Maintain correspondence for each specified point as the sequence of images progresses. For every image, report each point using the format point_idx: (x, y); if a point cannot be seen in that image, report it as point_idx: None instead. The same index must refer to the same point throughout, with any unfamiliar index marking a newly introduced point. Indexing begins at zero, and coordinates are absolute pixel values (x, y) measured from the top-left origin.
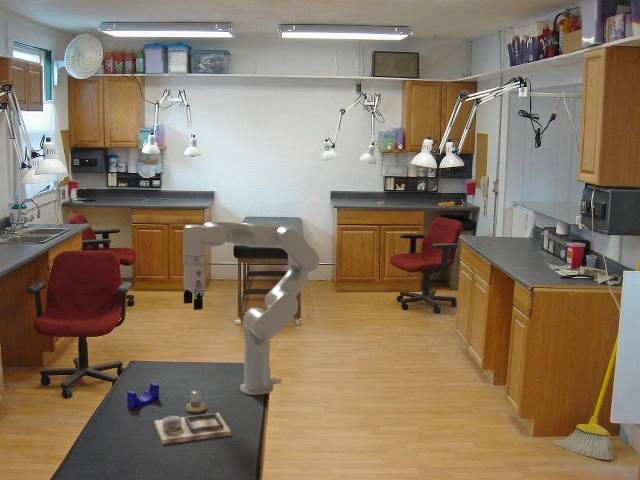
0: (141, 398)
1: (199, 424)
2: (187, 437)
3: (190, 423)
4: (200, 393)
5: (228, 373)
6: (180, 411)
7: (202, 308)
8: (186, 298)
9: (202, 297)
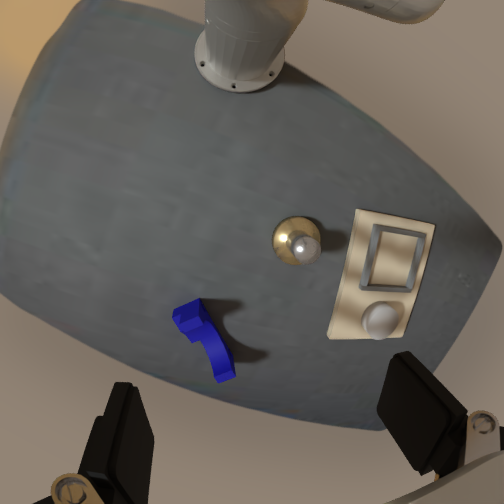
0: (198, 338)
1: (389, 267)
2: (414, 299)
3: (392, 288)
4: (315, 240)
5: (93, 81)
6: (289, 274)
7: (408, 352)
8: (145, 466)
9: (491, 422)
